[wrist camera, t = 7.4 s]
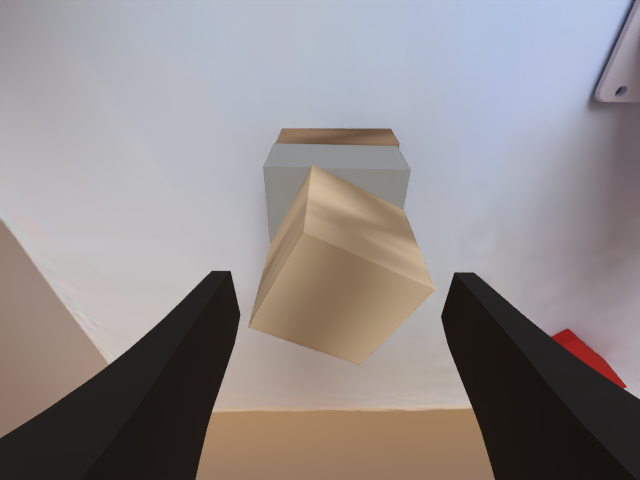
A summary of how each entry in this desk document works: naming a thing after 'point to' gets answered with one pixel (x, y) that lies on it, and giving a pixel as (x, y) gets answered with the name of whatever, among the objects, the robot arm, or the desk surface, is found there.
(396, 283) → the birch block
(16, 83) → the desk surface
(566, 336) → the bracket
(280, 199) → the slate-grey top block
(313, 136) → the walnut base block
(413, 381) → the desk surface
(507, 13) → the desk surface
